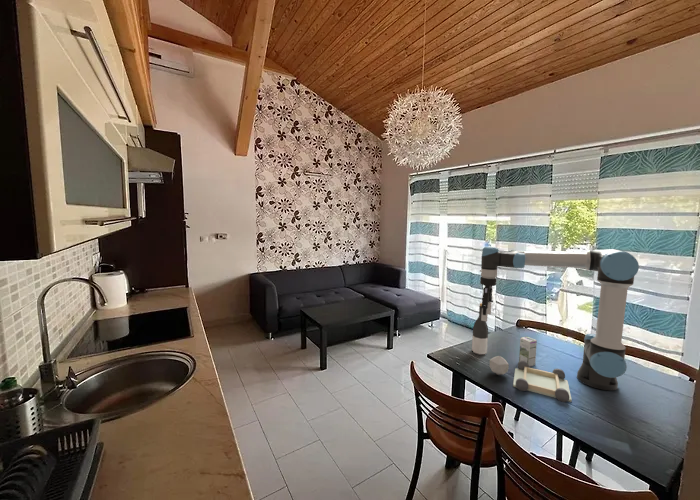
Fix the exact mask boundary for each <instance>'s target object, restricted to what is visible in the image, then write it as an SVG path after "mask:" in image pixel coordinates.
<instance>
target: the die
mask: <svg viewBox="0 0 700 500" xmlns="http://www.w3.org/2000/svg"><path fill="white" fill-rule="evenodd" d="M489 368H490V369H491V372H492V373H494V374H496V375H498V376H501V375H505V374H506V373H508V371H509V368H510V366H509V363H508V362H507V360H506V359H505V358H504V357H502V356H501V355H497V356H493V357H492V358H490V359H489Z"/></svg>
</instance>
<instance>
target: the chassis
mask: <svg viewBox="0 0 700 500" xmlns="http://www.w3.org/2000/svg"><path fill="white" fill-rule="evenodd" d="M514 369H515V370H514V375H513V376H514V377H513V383H512V387H513V388H516V389H517V390H519V391H520V392H526V391H527V392H528V391H529V392H532V393H536V394H539V395H544V396H546V397H551V398H553V399H557V400H558V401H559V402H561V403H565V402H570V403H572V401H573V400H572V396H571V395H572V394H571V391H570V386H569V381H568V380H567V379H566V374H565V372H564V370H562V369H561V368H554V369H553V370H552V372H550V371H546V370H543V369H537V368H533V367H530V366H529V364H528V363H527V362H525V361H520V362H519V361H518V363H517V367H515V368H514Z"/></svg>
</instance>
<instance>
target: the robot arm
mask: <svg viewBox="0 0 700 500" xmlns="http://www.w3.org/2000/svg"><path fill="white" fill-rule="evenodd" d="M481 252H482V254H481V261H480V262H481V263H480V265H481V266H480V267H481V268H480V270H479V272H480V278H479V279H480V281H479V282H480V285H482V286H484V287H483V289H482V290H483V292H482V298H481V299H482V300H481V303H482V306H480V305H479V306H480V308H482V315H481V321H486V323H487V322H488V317H489V316H490V315H492V303H494V300H493V287H494V286H496V285H497V277H498V267H500V268H501V267H502V268H503V267H504V268H512V269H513V268H514V269H524V268H525V266H529V267H530V266H534V267H552V268H553V267H555V268H570V269H571V268H573V269H585V270H587V271H591V272H592V271H593V272H597V277H596V279H597V282H598V283H599V284H600V291H599V292H600V293H599V301H598V311H597V318H596V319H597V320H596V328H595V329H596V330H595V333H587V334H585V336H584V339H583V341H584V344H583V356H582V363H581V364H580V367H579V368H578V370H577V372H576V373H577V374H576V378H577V380H579V382H581V383H583V384H585V385H586V386H590V387H592V388H595V389H597V390H602V391H616V390H618V387H619V384H618V383H619V382H618V379H617V378H618V377H622V376H623V375H625V373H626V372H627V368H628V366H627V363H626V360H625V356H626V348H627V347H626V346H625V345H624V344H623V343H622V339H623V333H624V322H625V316H626V315H625V314H626V307H627V306H626V305H627V297H628V289H629V288H630V287H631V286H634V281H635V276H636V275H637V274H638V272H639V269H640V265H639V261H638V260H637V258H636V257H635V256H634V255H633V254H631V253H630V252H627V251H624V250H619V249H612V248H610V249H599V250H598V249H596V250H589V249H588V250H587V251H585V252H583V251H582V252H581V251H578V252H577V251H542V250H541V251H540V250H516V249H515V250H514V249H512V250H508V251H500V250H499V248H498V247H495V246H484V247H483V248H482V251H481ZM488 315H489V316H488Z"/></svg>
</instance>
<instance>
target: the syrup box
mask: <svg viewBox="0 0 700 500" xmlns="http://www.w3.org/2000/svg"><path fill="white" fill-rule="evenodd" d="M537 341H538V340H537V339H534V338H532V337H529V336H523V337H520V340H519V355H518V356H519V357H518V358H519V359H518V363H519V362H520V361H525V362H527V363H528V364H529V367H532V366H533V367H534V366H536V360H537V358H536V356H537V346H538V344H537Z"/></svg>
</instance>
